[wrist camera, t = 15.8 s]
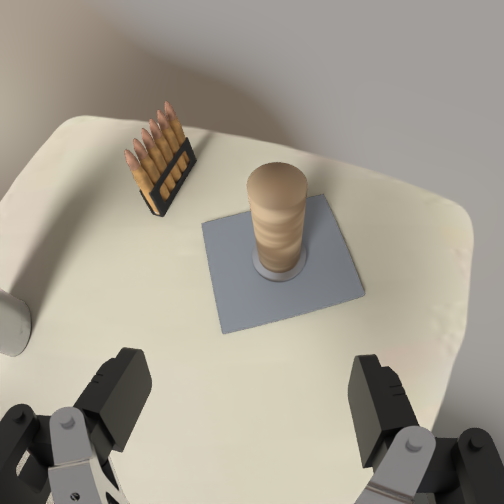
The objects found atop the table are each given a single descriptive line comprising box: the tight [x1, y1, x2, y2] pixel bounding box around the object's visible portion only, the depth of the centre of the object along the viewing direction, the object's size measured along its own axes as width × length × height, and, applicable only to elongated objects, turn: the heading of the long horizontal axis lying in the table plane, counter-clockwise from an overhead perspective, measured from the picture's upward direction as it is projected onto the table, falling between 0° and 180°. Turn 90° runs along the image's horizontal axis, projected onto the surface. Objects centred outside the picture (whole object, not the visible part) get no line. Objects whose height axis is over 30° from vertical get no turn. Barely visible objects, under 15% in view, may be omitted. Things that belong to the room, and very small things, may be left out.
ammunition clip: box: [125, 101, 197, 217], centre depth 36 cm, size 11×2×12 cm, turn 160°
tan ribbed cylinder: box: [247, 162, 307, 282], centre depth 28 cm, size 6×6×13 cm
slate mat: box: [202, 194, 365, 334], centre depth 34 cm, size 16×14×1 cm
